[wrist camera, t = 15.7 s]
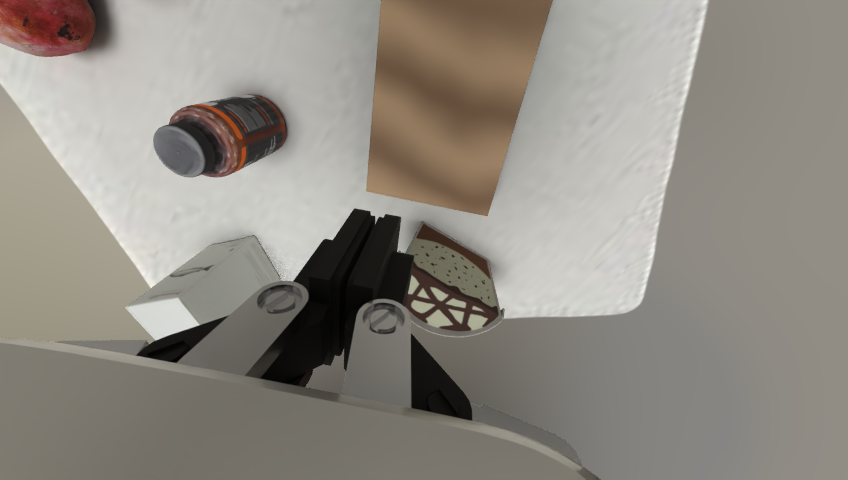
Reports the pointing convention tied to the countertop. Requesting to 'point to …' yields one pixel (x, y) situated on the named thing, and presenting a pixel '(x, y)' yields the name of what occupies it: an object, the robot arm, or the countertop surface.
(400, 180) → the lid
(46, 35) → the fruit
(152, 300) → the supplement box
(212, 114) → the supplement bottle
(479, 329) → the food container
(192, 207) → the countertop surface
